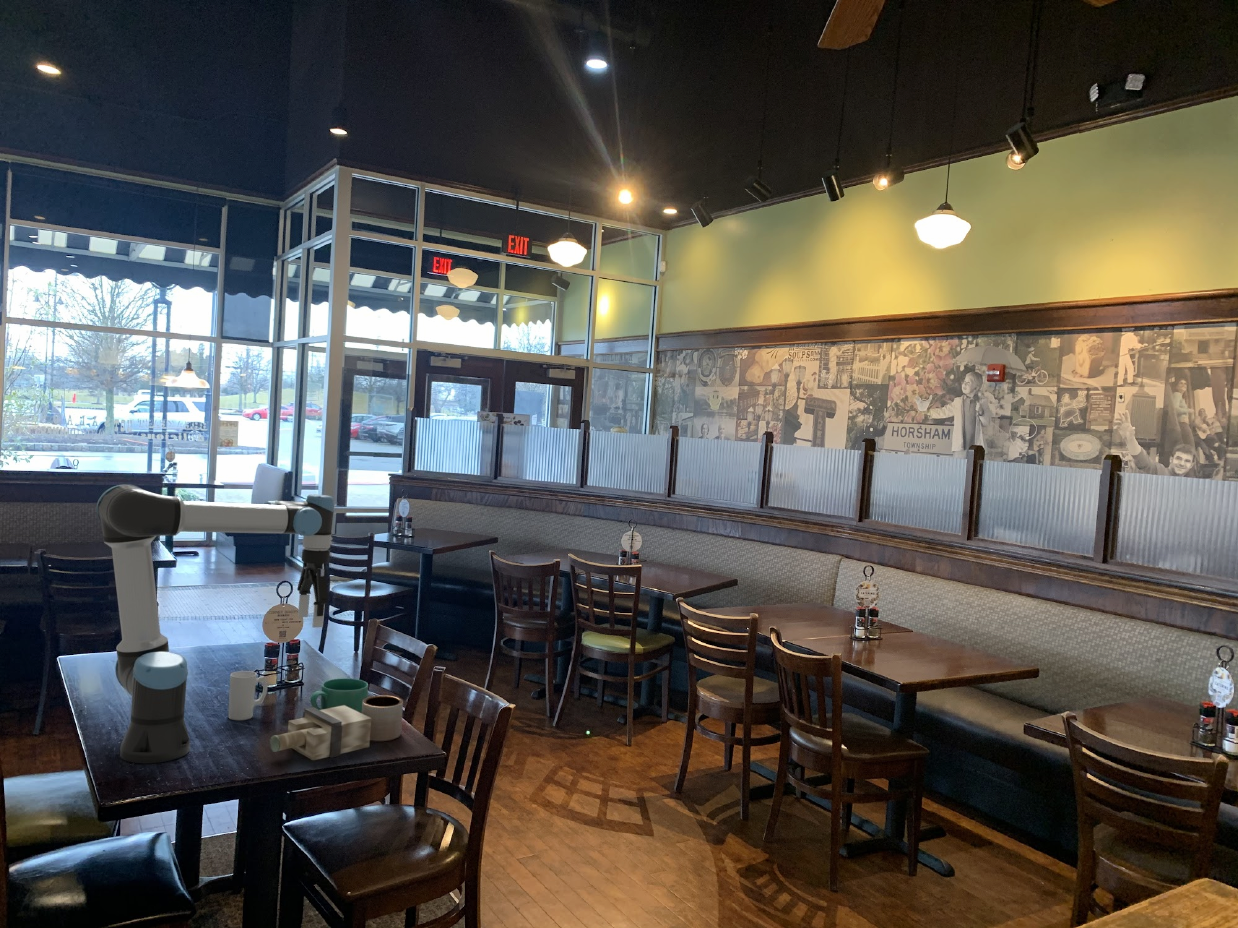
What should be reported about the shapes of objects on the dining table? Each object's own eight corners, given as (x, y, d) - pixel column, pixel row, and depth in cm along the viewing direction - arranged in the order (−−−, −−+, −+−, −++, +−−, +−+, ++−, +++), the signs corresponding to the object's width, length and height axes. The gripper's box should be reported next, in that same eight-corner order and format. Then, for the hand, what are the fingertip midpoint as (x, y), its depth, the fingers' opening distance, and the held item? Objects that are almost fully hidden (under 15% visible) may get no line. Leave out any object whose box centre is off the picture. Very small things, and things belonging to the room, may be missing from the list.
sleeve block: (314, 761, 215) (317, 727, 215) (284, 743, 225) (287, 711, 225) (371, 747, 227) (373, 715, 227) (340, 731, 237) (342, 700, 237)
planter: (367, 727, 242) (369, 693, 242) (405, 730, 242) (408, 696, 242) (353, 740, 231) (356, 705, 231) (394, 744, 231) (396, 708, 231)
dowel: (277, 753, 213) (278, 738, 213) (269, 749, 216) (270, 733, 216) (329, 741, 224) (330, 726, 224) (321, 737, 226) (322, 722, 226)
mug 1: (230, 721, 238) (233, 678, 237) (224, 714, 243) (227, 672, 243) (268, 717, 244) (271, 675, 243) (262, 710, 249) (265, 668, 249)
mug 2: (353, 707, 258) (355, 675, 258) (373, 719, 249) (376, 686, 249) (298, 716, 246) (301, 683, 246) (318, 729, 237) (320, 695, 237)
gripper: (344, 555, 242) (337, 630, 242) (315, 542, 262) (309, 612, 262) (317, 555, 237) (310, 632, 238) (290, 542, 257) (284, 613, 258)
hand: (310, 621), depth 250 cm, fingers open, 13 cm apart
